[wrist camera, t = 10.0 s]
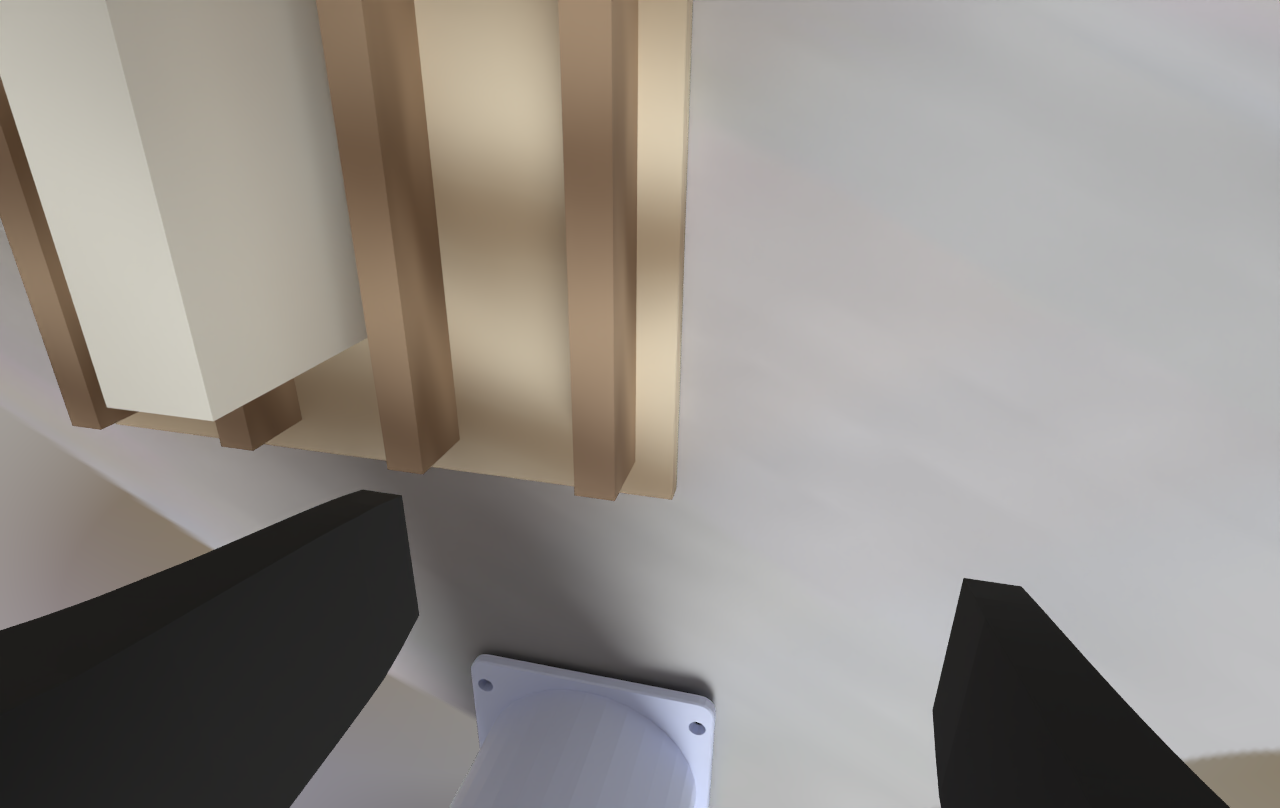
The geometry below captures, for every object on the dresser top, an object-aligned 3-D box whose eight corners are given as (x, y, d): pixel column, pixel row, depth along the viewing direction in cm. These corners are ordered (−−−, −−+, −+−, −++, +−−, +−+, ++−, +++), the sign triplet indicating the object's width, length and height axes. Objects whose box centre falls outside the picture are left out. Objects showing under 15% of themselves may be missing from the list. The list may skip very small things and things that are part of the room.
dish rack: (676, 488, 20) (655, 542, 17) (132, 416, 23) (55, 452, 21) (701, -278, 13) (673, -355, 11) (-58, -202, 17) (-198, -248, 15)
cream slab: (387, 327, 19) (213, 421, 14) (305, 319, 20) (106, 407, 14) (338, -24, 16) (85, -78, 10) (240, -21, 16) (-48, -72, 11)
